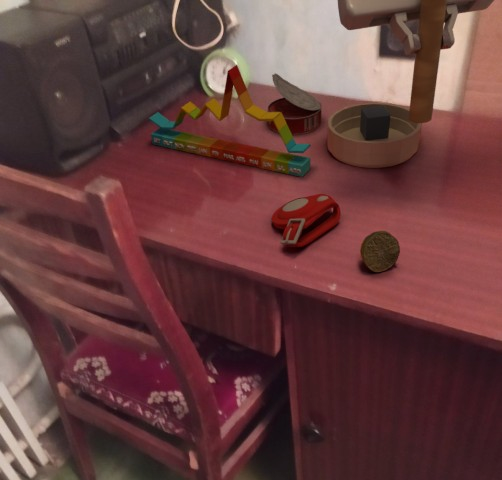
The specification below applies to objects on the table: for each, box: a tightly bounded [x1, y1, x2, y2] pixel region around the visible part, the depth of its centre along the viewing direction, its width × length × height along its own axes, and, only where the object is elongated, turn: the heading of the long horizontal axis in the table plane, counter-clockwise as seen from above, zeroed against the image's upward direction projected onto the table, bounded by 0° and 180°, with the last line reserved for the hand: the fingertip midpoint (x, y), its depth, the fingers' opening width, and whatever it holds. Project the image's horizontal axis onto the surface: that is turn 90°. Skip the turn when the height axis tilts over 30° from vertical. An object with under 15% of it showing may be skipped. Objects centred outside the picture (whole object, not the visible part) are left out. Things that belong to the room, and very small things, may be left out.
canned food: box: [267, 73, 323, 136], centre depth 107 cm, size 11×10×10 cm
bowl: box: [326, 102, 423, 169], centre depth 98 cm, size 15×15×4 cm
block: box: [360, 106, 390, 141], centre depth 100 cm, size 4×4×4 cm
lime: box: [359, 230, 401, 273], centre depth 75 cm, size 4×5×5 cm
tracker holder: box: [271, 193, 341, 248], centre depth 82 cm, size 12×4×10 cm
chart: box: [148, 64, 312, 178], centre depth 96 cm, size 30×3×15 cm, turn 60°
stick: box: [409, 0, 447, 124], centre depth 73 cm, size 3×3×16 cm
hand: (430, 49), depth 72 cm, fingers closed on stick, 3 cm apart
